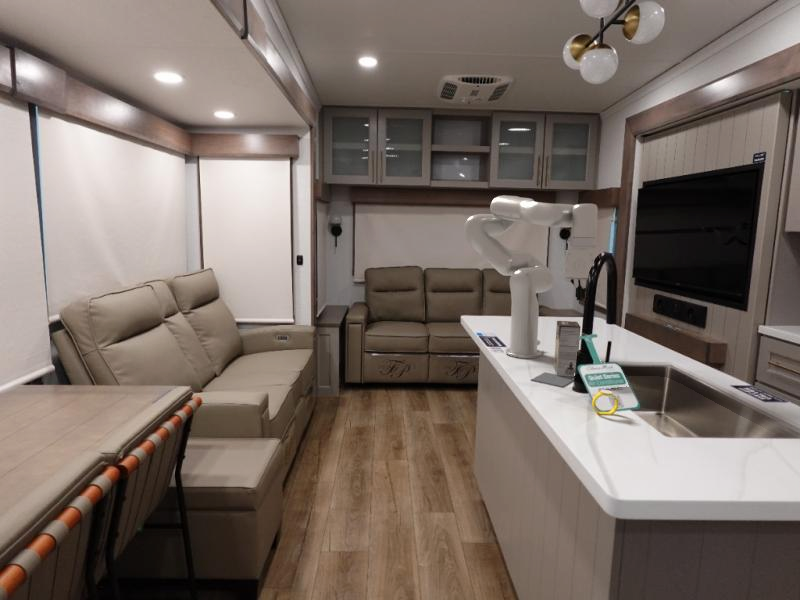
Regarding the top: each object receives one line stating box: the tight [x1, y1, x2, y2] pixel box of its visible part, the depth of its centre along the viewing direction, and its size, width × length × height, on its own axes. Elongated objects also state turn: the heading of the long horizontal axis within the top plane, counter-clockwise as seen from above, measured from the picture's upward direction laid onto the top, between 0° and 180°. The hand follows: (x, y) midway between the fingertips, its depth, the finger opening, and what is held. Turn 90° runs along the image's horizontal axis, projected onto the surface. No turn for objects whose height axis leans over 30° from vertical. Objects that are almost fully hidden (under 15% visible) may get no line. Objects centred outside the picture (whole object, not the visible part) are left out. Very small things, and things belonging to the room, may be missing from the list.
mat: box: [530, 372, 574, 388], centre depth 150 cm, size 10×10×1 cm
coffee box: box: [553, 320, 581, 378], centre depth 156 cm, size 9×6×16 cm
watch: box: [591, 389, 619, 416], centre depth 123 cm, size 6×3×6 cm, turn 87°
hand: (580, 299), depth 160 cm, fingers closed
